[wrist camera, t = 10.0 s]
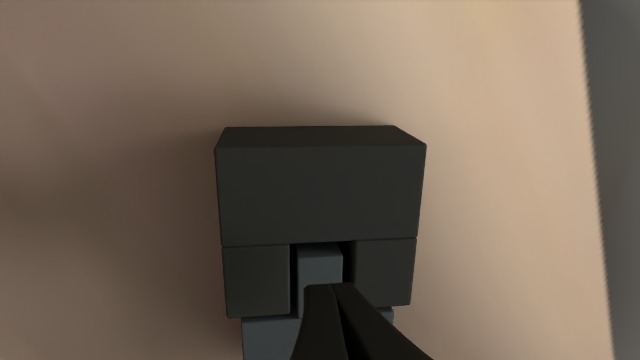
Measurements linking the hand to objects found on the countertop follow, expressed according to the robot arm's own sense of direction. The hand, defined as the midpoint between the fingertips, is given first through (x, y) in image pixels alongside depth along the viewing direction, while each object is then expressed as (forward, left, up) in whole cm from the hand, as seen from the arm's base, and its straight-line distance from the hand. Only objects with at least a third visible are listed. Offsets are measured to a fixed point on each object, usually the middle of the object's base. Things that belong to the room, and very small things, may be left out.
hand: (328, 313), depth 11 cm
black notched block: (+2, 0, -4) cm, 5 cm away
